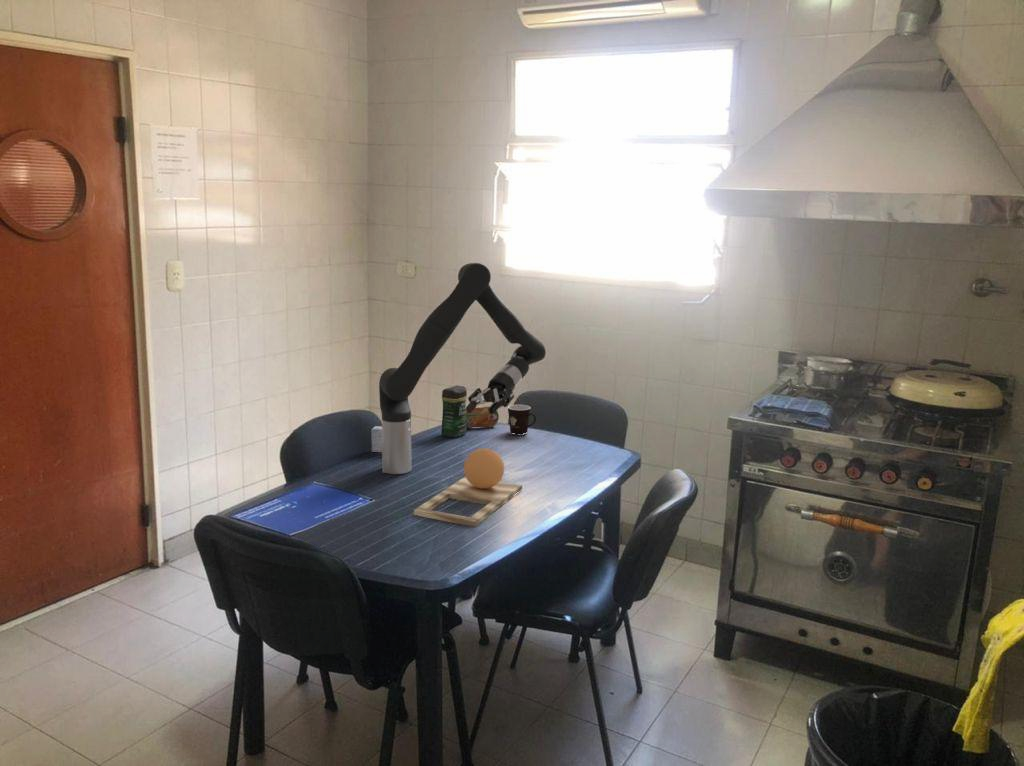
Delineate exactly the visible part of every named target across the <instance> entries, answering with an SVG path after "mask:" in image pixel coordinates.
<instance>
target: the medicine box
mask: <svg viewBox="0 0 1024 766" xmlns="http://www.w3.org/2000/svg"><path fill="white" fill-rule="evenodd" d="M372 452H382V425H381V426H380V425H379V426H376V425H375V426H374V427H372V429H371V453H372Z"/></svg>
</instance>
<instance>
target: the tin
mask: <svg viewBox="0 0 1024 766" xmlns="http://www.w3.org/2000/svg"><path fill="white" fill-rule="evenodd" d="M490 406H491V405H490ZM490 406H489V405H485V406H484V405H482V406H476V408H475V409H474V410H473V411H472V412H471V413H468V412H467V409H466V429H467V428H472V427H490V426H493V427H495V426H496V425H497V424H498V421H499V419H500V418H499V417H500V415H499V412H498V410H497V411H496V412H495V413H493V414H490V413H489V411H488V408H489V407H490Z"/></svg>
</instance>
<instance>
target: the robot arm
mask: <svg viewBox="0 0 1024 766" xmlns="http://www.w3.org/2000/svg"><path fill="white" fill-rule="evenodd" d="M491 275H492V274H491V271H490V269H489V267H488V266H486V265H485V264H483V263H480V262H471V263H467V264H464V265H463V266H461V267H460V269H459V271H458V275H457V280H458V283H457V284H456V286H455V287H454V289H453V290H452V292H451V293H450V294H449V296H448V297H446V298H445V299H444V300H443V301H442V302H441V303H440V304H439V305H438V306H437V307H436V308H435V309H433V311H431V313H430V314H429V315H428V316H427V318H426V320H424V322H423V324H422V325H421V326H420V327H419V329H418V331H417V333H416V335H415V337H414V338H413V339H414V340H413V342H412V345H411V347H410V348H411V349H410V350H409V352H408V354H407V355H406V358H405V359H404V360H403V361H402V362H401V364H399V366H398V368H397V367H389V368H387V369H385V370H384V371H383V372H382V374H381V375H380V379H379V382H378V384H379V385H378V387H379V388H378V389H379V391H378V393H379V406H380V407H379V408H380V412H381V426H382V453H381V461H382V462H381V463H382V467H381V470H382V471H381V472H382V473H383V474H389V475H403V474H407V473H409V472H411V471H412V469H413V468H412V465H413V463H412V411H411V407H410V403H409V398H408V397H410V395H411V394H412V393H413V391H414V389H415V388H416V386H417V385H418V383H419V381H420V379H421V378H422V376H423V374H424V372H425V371H426V369H427V367H429V365H430V364H431V362H432V361H433V360H434V359H435V358H436V356H437V355H438V353H439V352H440V351H441V349H442V348H443V347H444V345H445V344H446V343H447V342H448V340H449V338H450V337H451V336H452V334H454V331H455V329H457V327H458V326H459V324H460V323H461V321H462V319H463V318H464V316H465V315H466V313H467V311H468V310H469V309H470V307H471V306H473V304H474V303H475V302H477V303H478V304H479V305H480V306H481V307H482V308H483V310H485V311H484V312H486V313H487V315H488V316H489V317H490V319H491V320H492V321H493V323H494V324H495V326H496V327H497V328H498V329H499V331H500V332H501V334H502V335H503V336H504V338H505V339H506V340H507V341H508V343H510V344H514V345H515V344H518V345H520V346H518V347H517V348H515V350H514V351H513V353H512V355H511V357H510V360H508V361H507V362H506V364H505V365H504V366H502V367H501V368H500V369H499V370H498V372H496V374H495V375H494V376H493V377H492V378H491V379H490V380H489V382H488V385H487V387H486V388H485V389H484V390H482V389H481V387H478V388H477V389H475V390H474V391H473V392H472V393H471V394H470V395H469V396H467V399H468V400H467V401H468V402H469V403H468V405H467V406H466V409H467V412H468V413H471V412H472V411H473V410H474V409H475V408H476V407H479V405H480V406H481V405H485V404H487V403H492V404H491V405H490V407H489V408H488V411H489V413H490V414H493V413H495V412H496V411H497V412H498V409H500V408H502V407H503V408H506V407H507V408H508V405H509V404H510V403H511V402H512V401H513V399H514V398H515V394H514V392H513V391H514V390H515V389H516V388H517V387H518V385H519V384H520V382H521V381H522V380H523V378H524V377H525V376H526V375H527V373H528V372H529V370H530V365H532V364H536V363H538V362H540V361H543V360H544V358H546V357H545V356H546V352H547V351H546V347H545V345H544V343H543V342H542V341H541V340H540V339H539V338H538V337H537V336H536V335H534V334H533V332H531V331H529V329H526V327H525V326H524V325H523V323H522V322H521V320H520V319H519V318H518V316H517V315H516V314H515V313H514V312H513V311H512V310H511V308H510V307H508V306H507V304H506V303H504V301H503V300H501V298H500V296H498V295H497V294H496V292H495V291H494V289H493V288H492V287H491V284H490V282H491V280H492V279H491V278H492V276H491ZM482 397H483V399H482ZM478 400H479V401H478Z"/></svg>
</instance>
